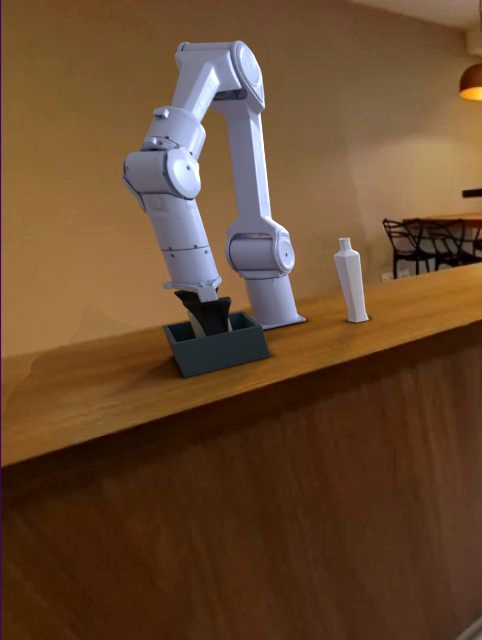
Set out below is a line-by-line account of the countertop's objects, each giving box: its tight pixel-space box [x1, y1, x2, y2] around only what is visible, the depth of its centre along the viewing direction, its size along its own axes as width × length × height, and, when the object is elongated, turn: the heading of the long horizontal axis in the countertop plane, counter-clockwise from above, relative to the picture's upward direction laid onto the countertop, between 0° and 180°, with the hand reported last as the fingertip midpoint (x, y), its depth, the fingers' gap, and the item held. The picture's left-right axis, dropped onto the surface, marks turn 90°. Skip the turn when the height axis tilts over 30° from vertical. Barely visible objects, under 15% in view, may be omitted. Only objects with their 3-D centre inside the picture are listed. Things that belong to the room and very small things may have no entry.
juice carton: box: [186, 309, 232, 338], centre depth 66 cm, size 4×4×9 cm
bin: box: [162, 310, 271, 379], centre depth 67 cm, size 11×11×5 cm
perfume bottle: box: [333, 237, 370, 324], centre depth 81 cm, size 5×4×15 cm
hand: (216, 339), depth 67 cm, fingers open, 7 cm apart
